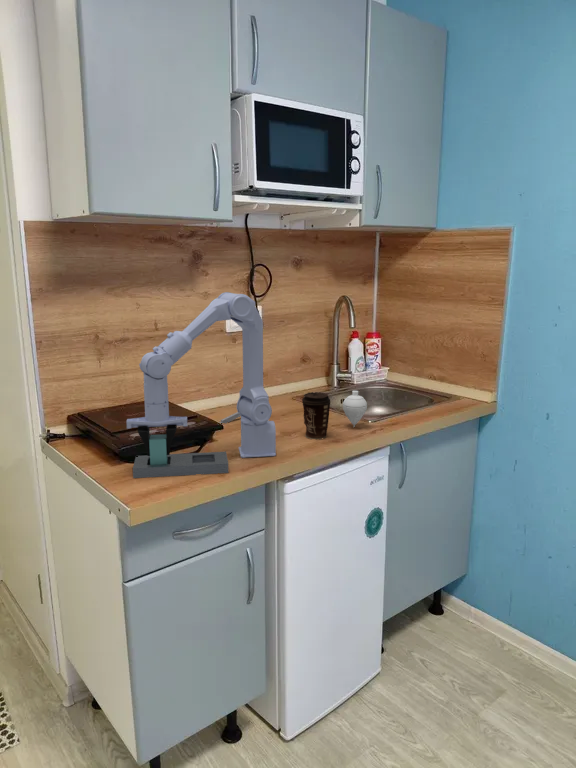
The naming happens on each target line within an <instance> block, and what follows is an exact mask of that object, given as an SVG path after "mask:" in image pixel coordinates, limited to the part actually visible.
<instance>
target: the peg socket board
mask: <svg viewBox="0 0 576 768" xmlns="http://www.w3.org/2000/svg"><path fill="white" fill-rule="evenodd" d="M137 456H138V457H136V456H135V458H134V461H133V462H134V463H133V466H132V478H133V479H142V478H158V477H159V478H160V477H161V478H162V477H163V478H164V477H178V476H181V477H182V476H197V475H196V474H201V475H214V474H215V475H216V474H218V473H219V474H229V460H228V455H227V451H215V452H214V451H211V452H209V451H208V452H191V453H189V452H188V453H170V455H167V458H168V462H167V464H162V465H150V456H147V454H146V455H137Z"/></svg>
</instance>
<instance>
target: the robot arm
mask: <svg viewBox="0 0 576 768" xmlns="http://www.w3.org/2000/svg"><path fill="white" fill-rule="evenodd" d="M231 320H232V321H233V322H234V323H235V324H237V325H238V326H239V327H240V328H241V329H242V330H241V332H242V335H241V336H242V337H241V338H242V380H243V381H242V387H241V389H240V390H239V395H238V399H237V402H236V411H237V412H238V413H239V414H240V415H241V416H240V446H238V451H239V455H240V458H261V457H275V456H277V453H276V452H277V451H276V450H277V449H276V447H277V446H276V444H277V443H276V437H277V436H276V435H277V434H276V424H275V421H274V420H270V419H271V416H272V414H273V409H272V405H271V404H270V402H269V401H270V399H269V395H268V393H267V391H266V389H265V387H264V323H263V319H262V317H261V315H260V313H259V311H258V309H257V307H256V301H255V300H254V299H252V298H251V297H249V296H248V295H247V294H244V293H235V292H234V293H233V292H229V291H225V292H222V293H221V294H219V295H218V297H215V299H213V300H212V301H211V302H210V303H209V305H208V306H206V307H205V308H204V310H202V311H201V312H200V313H199V315H197V316H196V318H194V319H193V320H192V321H191V323H189V324H188V325H187V326H186V327H185V328H184V329H183V330H174V331H173V332H171V331H170V332H168V333H167V334H166V336H167V337H166V338H165V340H164V341H162V342H161V343H160V344H159V345H158V346H157V345H156V346H154V347H152V350H153V351H150V352H147V353H146V354H144V355H143V356H142V358H141V360H140V363H139V369H140V371H141V372H142V373H143V399H144V416H142V417H134V418H127V419H126V429H127V430H128V429H132V428H137V433H138V436H139V437H140V438H141V440H142V442H143V444H144V447H145V451H146V455H147V456H150V446H149V439H150V435H151V434H150V428H153V427H154V428H156V427H157V428H158V427H166V428H165V433H166V436H167V455H170V454H171V451H170V450H171V446H172V442H173V440H174V437H175V435H176V432H177V430H178V429H177V427H180V426H181V427H188V416H175V415H174V416H173V415H170V411H169V409H170V406H169V405H170V404H169V385H168V384H169V383H168V375H169V374H170V372H171V369H172V366H174V364H176V362H178V361H179V360H180V359H181V358H182V357H183V356H184V355H186V353H188V352H189V351H190V350H191V349H192V347H193V345H192V344H193V341H194V340H196V338H198V337H199V336H200V335H202V333H204V332H206V330H208V329H209V328H210V327H211V326H213V325H214V324H215V323H216V322H221V321H222V322H223V321H231Z"/></svg>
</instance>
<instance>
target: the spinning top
mask: <svg viewBox="0 0 576 768" xmlns="http://www.w3.org/2000/svg"><path fill="white" fill-rule="evenodd" d="M351 392H352V394H351V395H348V396H347V397H346V398H345V399H344V400H343V402H342V409H343V412H344V413H345V416H346V417H347V419H348V421H349V422H350V423H351V424H352V425H353V428H354V427H356V425H357V424H358V423H359V422H360V421H361V419H362V418H363V416H364V415H365V414H366V412H367V409H368V402H367V401H366V399H365V398H364V397H363V396H362V395H359V390H352V391H351Z"/></svg>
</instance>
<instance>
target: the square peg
mask: <svg viewBox="0 0 576 768" xmlns="http://www.w3.org/2000/svg"><path fill="white" fill-rule="evenodd" d="M149 446H150V465H162V464H167V462H168V458H167V436H166V434H165V433H164V434H150V439H149Z"/></svg>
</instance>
